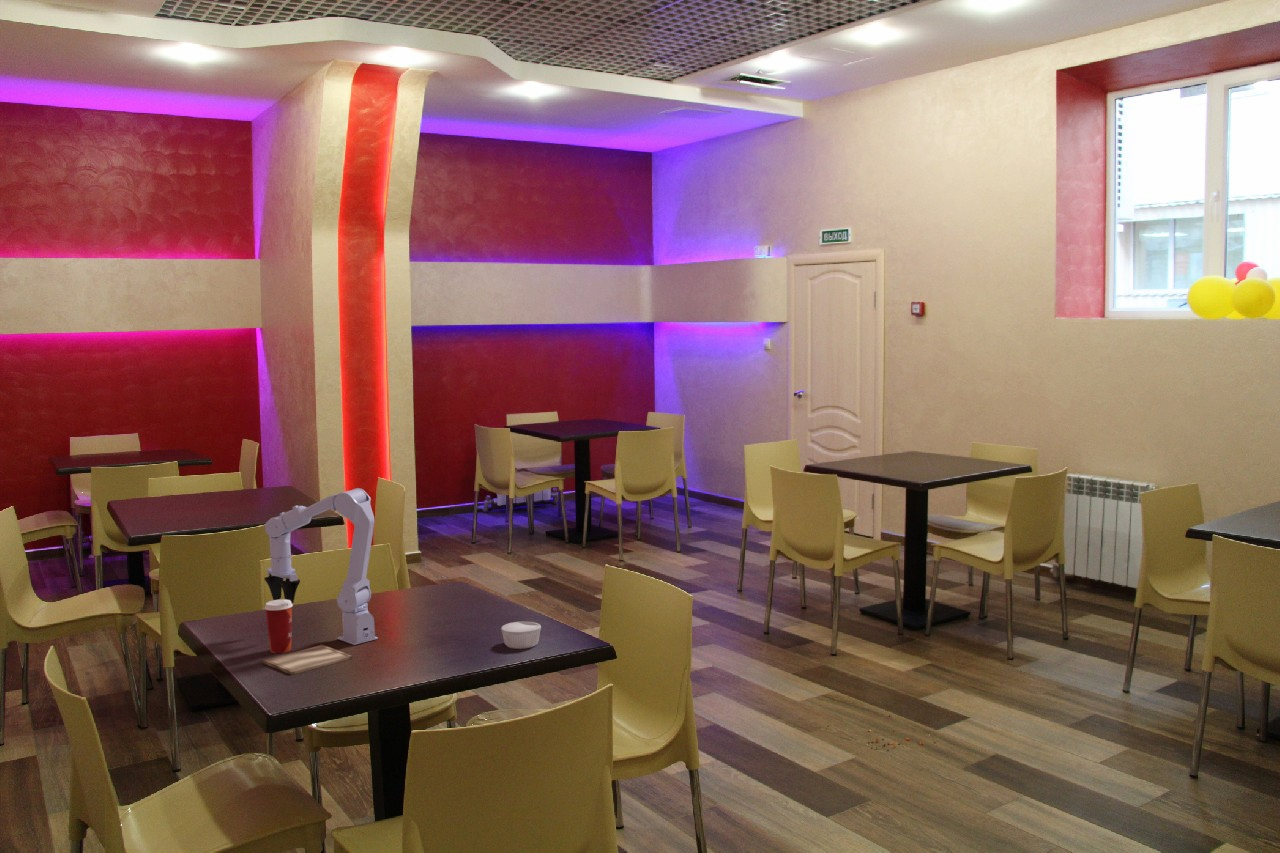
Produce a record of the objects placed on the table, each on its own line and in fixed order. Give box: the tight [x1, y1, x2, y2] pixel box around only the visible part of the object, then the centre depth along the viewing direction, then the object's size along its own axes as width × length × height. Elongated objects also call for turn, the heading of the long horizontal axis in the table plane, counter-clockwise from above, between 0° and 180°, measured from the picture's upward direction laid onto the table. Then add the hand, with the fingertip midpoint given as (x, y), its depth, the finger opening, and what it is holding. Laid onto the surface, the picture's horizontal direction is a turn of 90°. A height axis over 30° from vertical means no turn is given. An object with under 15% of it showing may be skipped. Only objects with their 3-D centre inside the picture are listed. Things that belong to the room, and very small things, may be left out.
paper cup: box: [263, 598, 294, 654], centre depth 298 cm, size 8×8×14 cm
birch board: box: [262, 644, 353, 676], centre depth 288 cm, size 16×18×1 cm
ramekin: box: [500, 621, 542, 650], centre depth 299 cm, size 11×11×5 cm
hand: (283, 601), depth 312 cm, fingers open, 7 cm apart
